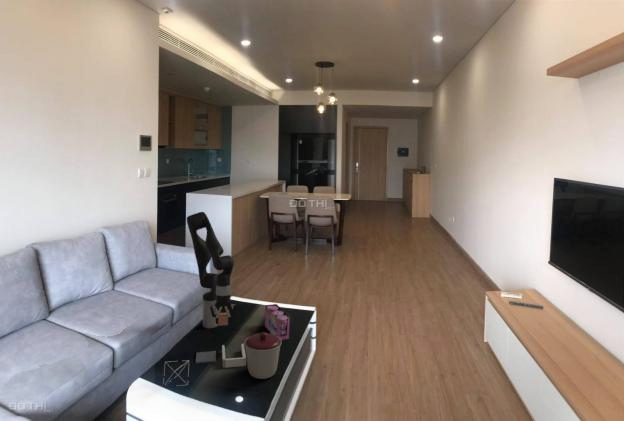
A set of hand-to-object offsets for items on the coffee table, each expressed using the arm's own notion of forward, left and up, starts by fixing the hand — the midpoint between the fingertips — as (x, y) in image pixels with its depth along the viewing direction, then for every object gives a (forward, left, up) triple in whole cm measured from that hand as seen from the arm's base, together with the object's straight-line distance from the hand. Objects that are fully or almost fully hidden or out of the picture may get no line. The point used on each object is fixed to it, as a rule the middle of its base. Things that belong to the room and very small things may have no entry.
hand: (223, 323), depth 215 cm
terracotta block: (-1, 0, 0) cm, 1 cm away
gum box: (-19, +32, -16) cm, 41 cm away
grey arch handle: (+9, +5, -16) cm, 19 cm away
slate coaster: (+6, -9, -16) cm, 19 cm away
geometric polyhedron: (+27, -22, -16) cm, 38 cm away
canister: (+26, +18, -16) cm, 36 cm away
